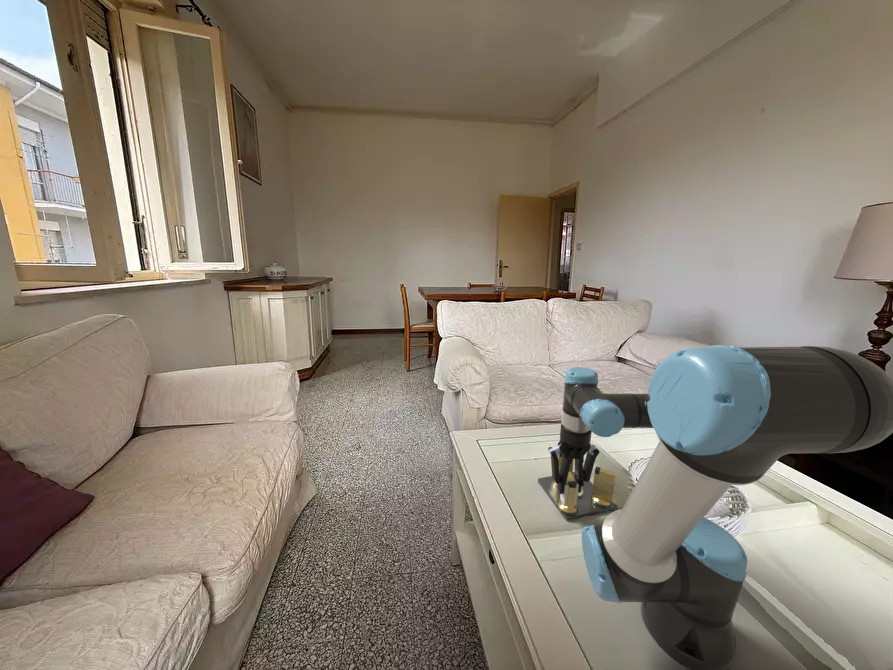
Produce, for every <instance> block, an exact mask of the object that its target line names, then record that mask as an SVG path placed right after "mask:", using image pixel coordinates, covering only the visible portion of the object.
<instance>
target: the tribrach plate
mask: <svg viewBox="0 0 893 670" xmlns="http://www.w3.org/2000/svg"><path fill="white" fill-rule="evenodd" d="M572 476H573V478H575V471H573V472H572ZM537 483H538V485H539V486H540V487H541V488H542V489H543V491H544V492H545V494H546V495H547V497H548V498H549V499H550V501H551V502H552V503H553V505H554V506H555V508H556V509H557V510H558V512H559V513H560V514H561V516H562V517H563V518H564V520H565V521H566V522H569V521H573V520H578V519H582V518H587V517H591V516H595V515H600V514H605V513H611V512H614V511H615V506H614V504H613V502H612V503H611V504H610V505H609V506H602V505H599V504H597V503H595V502H594V501H593V499H592V489H593V482H592V481H590V480H589V482H586V481H584V482H583V483H584V486H581V492H580V493H578V496H577V511H576V512H575V513H572V514H569V513H565V512H563V511H561V510H560V509H559V507H558V501H559V500H560V492H559V490H558V485H559V483H558V484H557V483H556V482H555V481H554V479H553V477H552V475H550V476H544V477H540V478H537Z"/></svg>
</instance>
